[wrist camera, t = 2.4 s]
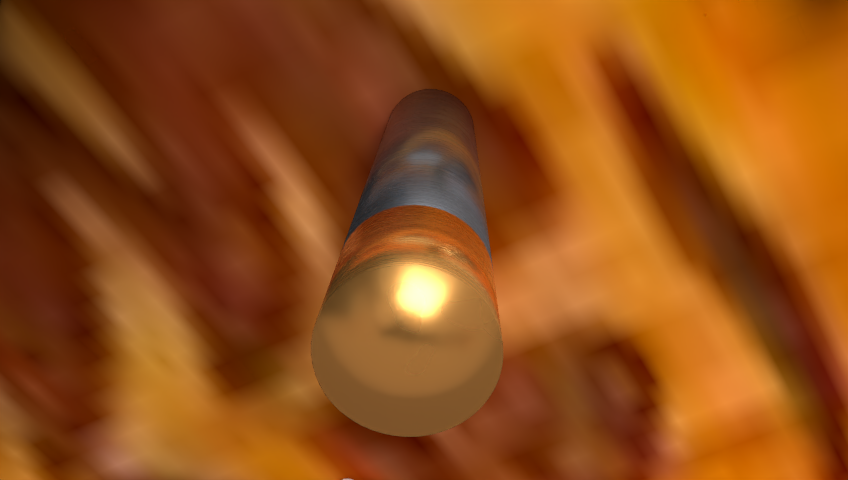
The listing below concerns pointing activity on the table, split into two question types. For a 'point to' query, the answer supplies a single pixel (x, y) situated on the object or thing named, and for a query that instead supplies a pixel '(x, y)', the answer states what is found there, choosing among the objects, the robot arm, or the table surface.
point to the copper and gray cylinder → (414, 282)
